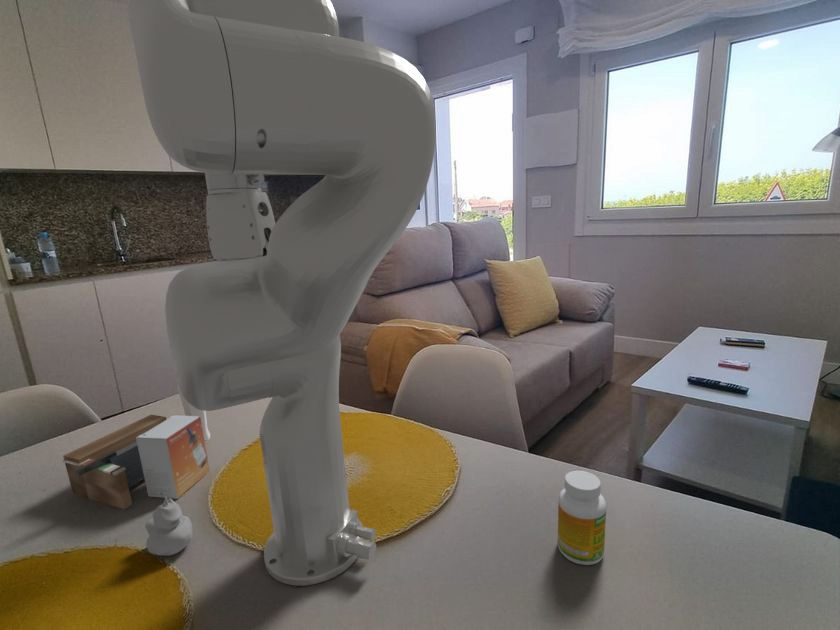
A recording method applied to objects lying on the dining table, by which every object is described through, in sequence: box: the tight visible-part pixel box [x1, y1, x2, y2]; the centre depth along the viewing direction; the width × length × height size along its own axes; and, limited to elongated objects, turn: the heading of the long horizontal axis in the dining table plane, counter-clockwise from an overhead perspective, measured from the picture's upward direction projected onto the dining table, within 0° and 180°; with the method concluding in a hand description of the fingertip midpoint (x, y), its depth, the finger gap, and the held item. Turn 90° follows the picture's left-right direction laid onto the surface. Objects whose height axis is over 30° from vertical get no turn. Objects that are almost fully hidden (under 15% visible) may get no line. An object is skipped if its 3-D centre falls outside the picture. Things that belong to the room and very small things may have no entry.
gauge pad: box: [75, 441, 145, 488], centre depth 72 cm, size 3×16×6 cm, turn 159°
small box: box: [136, 414, 211, 500], centre depth 71 cm, size 8×6×10 cm
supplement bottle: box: [557, 470, 607, 566], centre depth 52 cm, size 5×5×10 cm
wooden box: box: [62, 414, 168, 510], centre depth 74 cm, size 12×16×7 cm
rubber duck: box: [144, 497, 193, 557], centre depth 57 cm, size 5×7×8 cm
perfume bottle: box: [176, 383, 211, 441], centre depth 85 cm, size 5×4×15 cm
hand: (251, 303), depth 69 cm, fingers closed
